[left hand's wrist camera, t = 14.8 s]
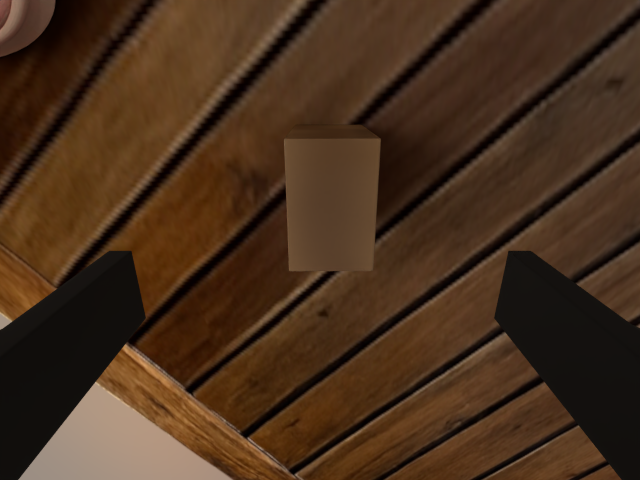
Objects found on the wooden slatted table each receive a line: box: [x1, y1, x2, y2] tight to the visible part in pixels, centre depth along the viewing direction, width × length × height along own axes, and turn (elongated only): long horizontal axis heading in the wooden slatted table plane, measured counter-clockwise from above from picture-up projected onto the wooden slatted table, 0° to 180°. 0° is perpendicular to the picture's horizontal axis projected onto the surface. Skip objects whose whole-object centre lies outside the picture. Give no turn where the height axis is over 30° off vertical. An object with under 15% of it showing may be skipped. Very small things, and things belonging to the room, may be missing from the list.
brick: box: [284, 125, 381, 271], centre depth 26 cm, size 5×8×10 cm, turn 0°
